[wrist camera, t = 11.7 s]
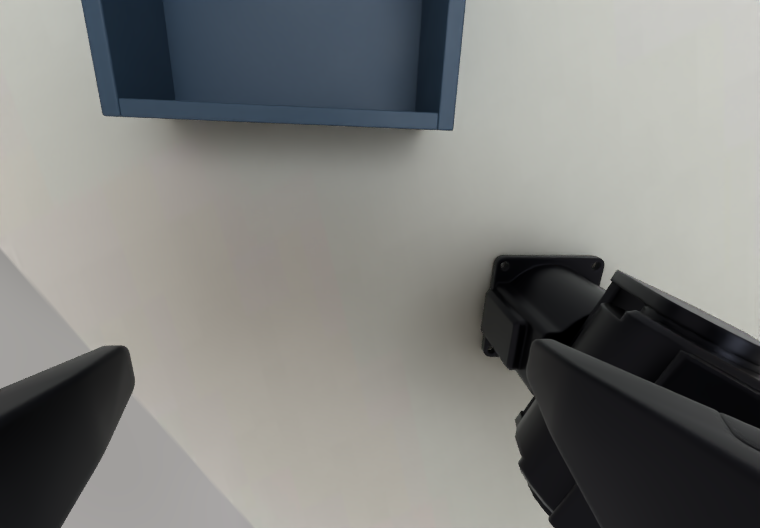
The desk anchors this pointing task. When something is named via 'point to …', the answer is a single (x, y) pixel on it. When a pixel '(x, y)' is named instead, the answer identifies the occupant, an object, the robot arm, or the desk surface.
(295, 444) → the desk surface
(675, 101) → the desk surface
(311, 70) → the bin
